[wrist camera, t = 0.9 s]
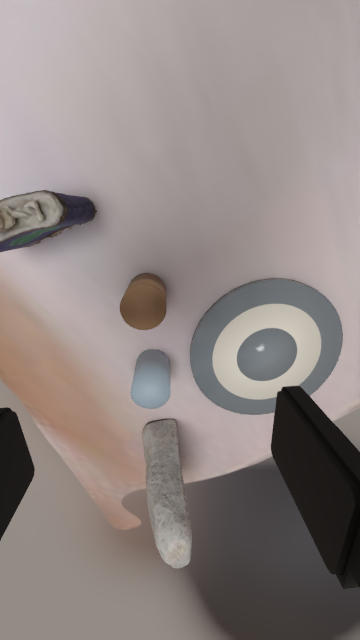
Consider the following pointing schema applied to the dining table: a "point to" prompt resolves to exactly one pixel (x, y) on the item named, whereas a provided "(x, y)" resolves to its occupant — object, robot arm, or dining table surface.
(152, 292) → the brown rounded cylinder
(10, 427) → the robot arm
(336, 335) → the plate
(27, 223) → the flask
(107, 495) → the dining table surface
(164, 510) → the decorative stone
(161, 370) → the smooth blue-gray rounded cylinder
